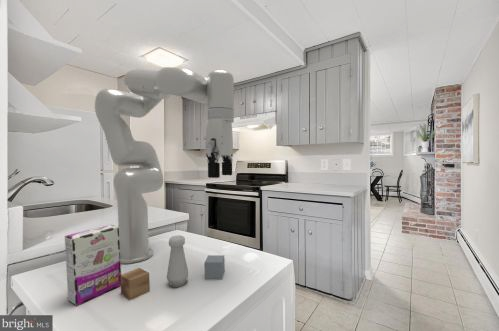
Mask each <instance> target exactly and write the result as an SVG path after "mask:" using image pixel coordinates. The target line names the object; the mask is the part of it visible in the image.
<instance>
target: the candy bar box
mask: <svg viewBox="0 0 499 331" xmlns="http://www.w3.org/2000/svg"><path fill="white" fill-rule="evenodd" d="M64 248H65V249H64V250H65V262H66V263H65V264H66V265H65V266H66V283H67V284H66V285H67V299H68V302H70V301H71V302H72V304H73V303H74V304H75V306H76V305H78V306H80V305H82V304H85V303H87V302H89V301H91V300H93V299H95V298H97V297H100V296H102V295H103V294H106V293H109V292H110V291H112V290H114V289H117V288H118V287H121V275H122V269H121V268H122V265H121V264H122V263H120V242H119V227H118V226H117V225H113V224H108V225H103V226H100V227H95V228H92V229H91V228H90V229H87V230H83V231H80V232H75V233H71V234H66V235H64ZM71 302H70V303H71ZM84 302H85V303H84ZM74 304H73V305H74ZM79 304H80V305H79Z"/></svg>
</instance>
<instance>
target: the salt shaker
mask: <svg viewBox="0 0 499 331" xmlns="http://www.w3.org/2000/svg"><path fill="white" fill-rule="evenodd" d="M185 240H186V237H184V236H183V235H173V236H171V237H170V238H169V239H168V246H169V247H170V252H169V259H168V265H167V266H168V267H167V272H166V280H167V281H168V283H169V284H170V287H174V288H178V287H182V286H184V285H185V284H186V282H187V279H188V277H189V269H188V265H187V259H186V254H185V250H184V245H185V243H186V241H185Z"/></svg>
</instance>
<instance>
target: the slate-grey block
mask: <svg viewBox="0 0 499 331" xmlns="http://www.w3.org/2000/svg"><path fill="white" fill-rule="evenodd" d="M204 260H205V261H204V265H203V266H204V280H205V281H206V280H213V281H214V280H215V281H216V280H223V279H224V275H225V272H226V270H225V269H226V268H225V264H226V263H225V255H223V254H221V255H219V254H218V255H216V254H215V255H210V254H209V255H207V257H206V259H204Z"/></svg>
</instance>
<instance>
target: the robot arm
mask: <svg viewBox="0 0 499 331" xmlns="http://www.w3.org/2000/svg"><path fill="white" fill-rule="evenodd" d="M123 82H124V85H125V87H126V89H127V90H128V91H130V92H127V91H124V90H119V89H115V88H103V89H101V90H100V91H98V93H96V96H95V100H94V112H95V114H96V117H97V119H98V123H99V124H100V127H101V128H102V130H103V133H104V137H105V140H106V143H107V147H108V150H109V154H110V157H111V160H112V162H113V163H114V165H116V166H120V167H126V168H124V169H121V170H118V172H116V173H115V174H114V177H113V187H114V192H115V196H116V203H117V222H118V223H117V224H118V227H119V242H120V264H122V265H123V264H128V265H129V264H134V263H140V262H143V261H145V260H148V259H149V258H151V257H152V256H153V255H154V249H153V248H151V247H149V246H150V245H149V213H148V212H149V211H148V204H147V201H146V200H145V198H144V196H143V194H148V193H153V192H157V191H159V190H161V188H162V187H163V185H164V176H163V171H162V168H161V164H160V161H159V158H158V155H157V151H156V150H155V147H153V145H152V144H151V143H149V142H147V141H139V140H135V139H134V137H133V134H132V131H131V129H130V126H129V124H128V123H127V122H126V121H125V120H124V119H123V117H121V116H125V117H132V118H143V117H145V116H147V115H148V114H150V112H151V111H152V110H153V109H155V107H156V106H157V105H158V104H160V103H161V102H162V100H163V99H164V100H165V99H167V98H169V97H170V96H178V97H182V98H185V99H188V100H192V101H193V102H196V103H200V104H205V105H206V106H207V108H206V112H207V114H206V116H207V119H206V120H207V122H206V127H205V128H206V129H205V130H206V131H205V142H204V143H205V145H204V146H205V147H204V148H205V150H204V153H205V155H206V158H207V159H206V162H207V177H208V178H209V179H212V178H214V179H219V178H220V177H221V175H222V176H232V175H233V157H234V156H233V151H234V141H233V140H234V138H233V126H232V124H234V120H235V117H234V116H235V115H234V114H235V109H234V107H235V106H234V105H235V103H234V101H235V100H234V94H235V92H234V89H235V87H234V86H235V85H234V83H235V80H234V76H233V74H232V73H231V72H229V71H227V70H221V69H220V70H219V69H218V70H216V69H215V70H212V71H210V72H209V73H208V74H207V76H206V77H205V76H203V75H201V74H199V73H196V72H194V71H193V70H191V69H187V68H184V67H183V68H182V67H172V66H169V67H168V66H167V67H165V66H164V67H163V68H161V69H159V70H150V69H139V68H138V69H132V70H131V69H130V70H128V71H127V72H126V73H125V75H124V77H123ZM220 157H221V158H222V162H221V163H220ZM127 167H128V168H127ZM129 167H130V168H129ZM220 167H221V168H220ZM220 170H221V171H220ZM220 173H221V174H220Z"/></svg>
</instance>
